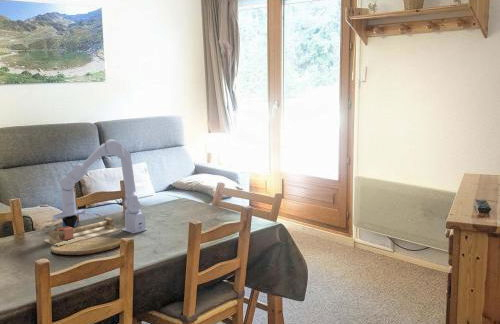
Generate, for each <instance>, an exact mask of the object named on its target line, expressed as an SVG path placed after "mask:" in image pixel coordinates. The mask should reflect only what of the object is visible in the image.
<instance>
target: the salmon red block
mask: <svg viewBox="0 0 500 324" xmlns="http://www.w3.org/2000/svg"><path fill="white" fill-rule="evenodd" d="M56 231H57V232H60V231H64V236H63V237H60V238H61V239H64V240H67V239H71V238H74V236H73V228H72V227H69V226H61V227H57V228H56Z"/></svg>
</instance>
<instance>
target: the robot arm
mask: <svg viewBox="0 0 500 324" xmlns="http://www.w3.org/2000/svg"><path fill="white" fill-rule="evenodd" d="M108 154H109V155H112V156H114V157H115V156H116V157H117V158H118V159H120V164H121V170H122V177H123V183H124V184H123V185H124V195H125V197H124V198H125V199H124V201H123V205H124V206H125V208H126V209H124V224H125V225H124V226H125V227H123V228H121V230H122V231H124V232H127V233H131V234H138V233H141V232H145V231H147V230H148V229H147V228H146V217H145V214H143V213H142V210H141V202H140V201H139V199H138V194H137V190H136V183H135V177H134V170H133V161H132V155H131V153H130V152H129V150H127V148H125V146H124V145H123V144H122V143H120V142H119V141H118V140H116V139H113V138H109V139H107V140H105V142H104V143H101V144H100V146H98V147H97V148H96V149H94V151H93V152H92V153H91V154H90V155H89V156H88V157H87V158H86V159H85V160H84V161H83V162H82V163H77V164H74V165H73V166H72V167H73V168H72V169H71V170H69V171H68V172H67V173H65V175H64V176H63V177H61V179H60V182H59V184H60V187H61V190H60V192H61V193H60V195H61V196H60V199H61V207H62V208H61V212H59V213H57V214H53V215H52V219H53V221H58V220H62V222H63V221H64V223H65V225H66V226H69V227H72V228H75V227H74V225H75V223H76V220H77V221H78V216H80V215H86V210H85V209H83V208H82V209H77V203H76V193H75V185H76V183H78V182H80V181H81V180H82V179H83V178H84V177H85V175H87V174H88V170H89V168H91V166H92V165H93V164H95V163H96V162H97V161H98V160H99V159H100V158H101V157H106V156H108ZM75 203H76V204H75ZM76 215H77V216H76Z"/></svg>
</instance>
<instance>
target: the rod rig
mask: <svg viewBox="0 0 500 324" xmlns="http://www.w3.org/2000/svg"><path fill="white" fill-rule="evenodd" d="M114 221H115V220H114V218H111V217H108V216H107V217H104V218H103V221H99V222H94V223H90V224H85V225H82V226H77V227H74V228H73V236H74V238H71V239H77V238H85V237H94V238H97V237H101V236H105V235H109V234H111V233H116V232H119V231H120V229H118V228H116V227H115V222H114ZM63 236H64V231H60V232H57V230H53V229H51V230H48V238H47V239H44V240H43V241H44V243H48V244H50V245H53V244H56V243H60V242H63V241H68V240H71V239H67V240H64V239H61V238H60V237H63Z"/></svg>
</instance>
